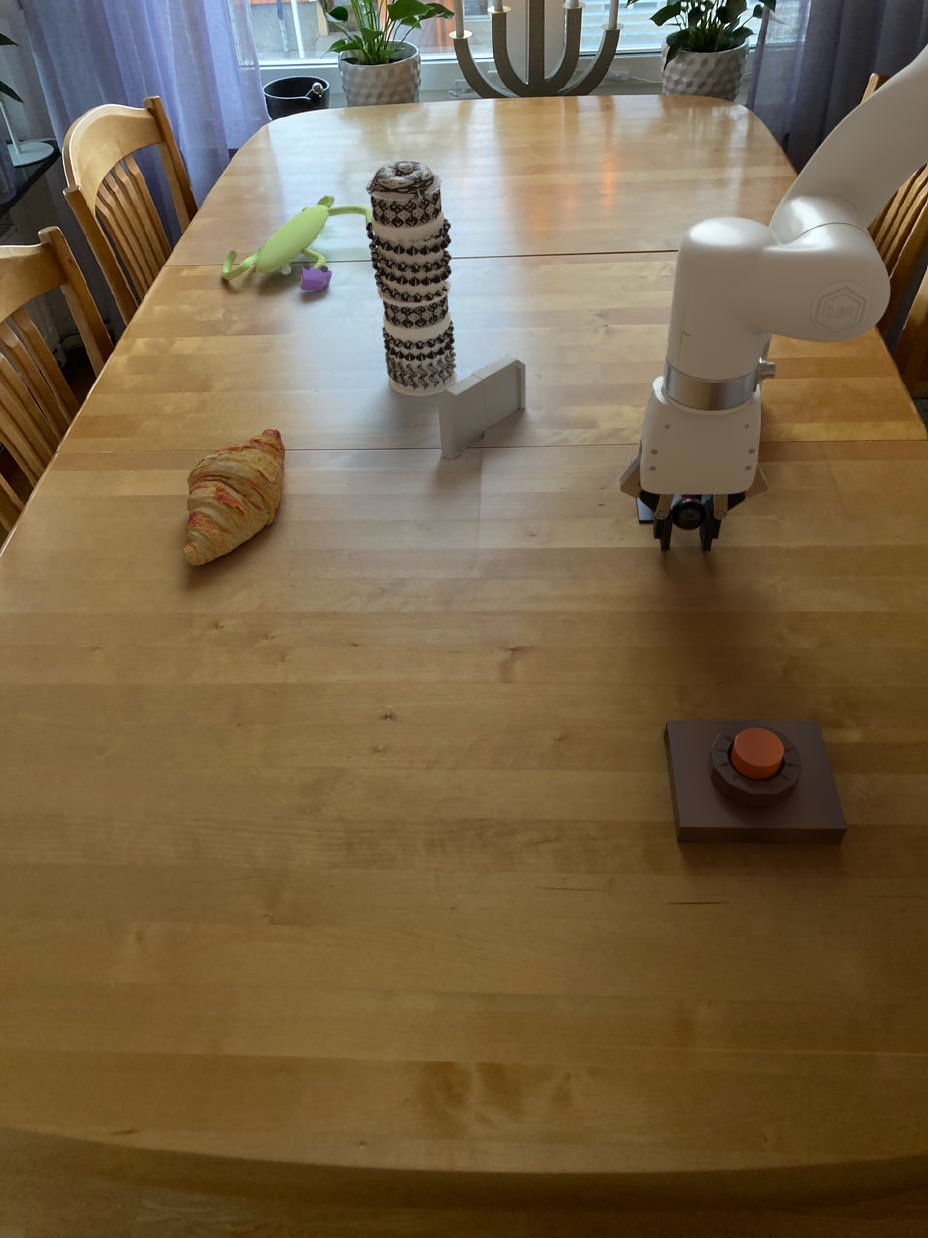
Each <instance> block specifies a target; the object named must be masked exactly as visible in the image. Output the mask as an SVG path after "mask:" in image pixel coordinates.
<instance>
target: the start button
mask: <svg viewBox="0 0 928 1238" xmlns="http://www.w3.org/2000/svg"><path fill="white" fill-rule="evenodd" d="M783 755H784V747H783V744H782V742H781V740H780V739H779V738H778V737H777V736H776V735H775V734H773V733H772V732H770V731H768V730H765V729H762V728H749V729H746V730H743V731H742V732H740V733H739V734H738V735H737V736H736V738H735V741H734V745H733V749H732V753H731V761H732V764H733V766H734V767H735V769H736V770H737V771H738V772H739V773H740V774H742V775H743V776H745V777H748V778H750V779H755V780H764V779H768V778H770V777H772V776H774V775H775V774H776V773H777V772H778V770H779V768H780V764H781V761H782V758H783Z"/></svg>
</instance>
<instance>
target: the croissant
mask: <svg viewBox="0 0 928 1238" xmlns="http://www.w3.org/2000/svg"><path fill="white" fill-rule="evenodd" d="M285 458H286V447H285V445H284V444H283V441H282V435H281V432H280V431H279V430H278V429H272V428H267V429H264V430H263V432H262V433H261V434H258V435H254V436H252V437H251V438H249V439H247V440H246V441H244V442H242V443H238V444H235V445H233V446H230V447H224V448H220V449H216V450H214V451H213V452H211V453H210V454H208V455H206V456H204V457H203V458H202V459H201V460H200V461H198V462H197V463H196V464H195V465H194V466H193V468H192V469H191V470H190V472H189V474H188V476H187V480H186V482H187V484H188V494H189V495H188V498H187V499H186V508H187V511H188V513H189V518H188V521H187V523H186V525H185V534H186V540H187V542H188V543H186V544H185V545H184V548H183V551H184V555H185V560H186V562H187V563H188V564H190V565H191V566H193V567H194V566H201V565H205V564H207V563H209V562H212V561H214V560H216V559H217V558H219V557H222V556H225V555H227V554H228V553H230V552H232V551H233V550H236V549H237V548H238V546H241V544H244V543H246V541H248V540H251V539H252V538H253V536H254V535H256V534H257V533H258V532H260V531H261V530H262V529H263V528H265V526H270V524H272V523H273V522H274V520H275V518H276V514H277V513H276V512H277V509H278V506H279V504H280V503H281V499H282V497H283V496H282V495H283V488H284V476H285Z"/></svg>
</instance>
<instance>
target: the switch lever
mask: <svg viewBox="0 0 928 1238" xmlns="http://www.w3.org/2000/svg"><path fill="white" fill-rule="evenodd" d="M705 516H706V511H705V507H704V505H703V504H702V502H701V501H699V500H698V499H696V498H694V494H681V499H679V500H678V501H677V502H676V503H675V504H674V505H673V507H672V517H673V525H674V526H675V527H677V528H678V529H679V530H681V531H684V532H691V531H695V530H697V529H698V528H700V526H701V525H702V523H703V522H704V520H705Z"/></svg>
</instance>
